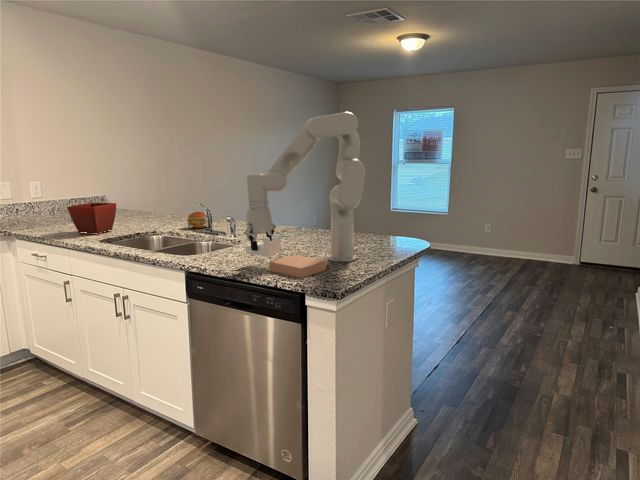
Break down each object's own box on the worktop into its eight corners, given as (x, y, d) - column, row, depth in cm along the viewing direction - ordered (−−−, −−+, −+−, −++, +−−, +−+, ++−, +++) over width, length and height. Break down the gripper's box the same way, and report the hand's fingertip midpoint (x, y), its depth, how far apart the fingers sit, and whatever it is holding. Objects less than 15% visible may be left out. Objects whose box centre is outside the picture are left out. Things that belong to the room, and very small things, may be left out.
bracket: (281, 252, 179) (280, 234, 177) (269, 256, 173) (267, 237, 172) (258, 249, 186) (256, 232, 185) (246, 253, 181) (244, 235, 179)
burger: (214, 227, 279) (213, 211, 277) (198, 230, 268) (197, 213, 266) (199, 225, 286) (198, 210, 284) (182, 228, 275) (181, 212, 273)
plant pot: (69, 234, 259) (66, 206, 256) (94, 229, 277) (91, 202, 273) (96, 236, 253) (92, 206, 250) (120, 230, 271) (117, 203, 268)
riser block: (294, 264, 184) (294, 255, 183) (325, 270, 173) (325, 260, 172) (269, 271, 174) (269, 261, 173) (301, 278, 163) (301, 268, 162)
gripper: (268, 201, 185) (271, 243, 189) (235, 207, 172) (239, 251, 176) (280, 202, 180) (283, 245, 184) (248, 208, 167) (252, 254, 171)
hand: (261, 248), depth 180 cm, fingers closed on bracket, 7 cm apart
